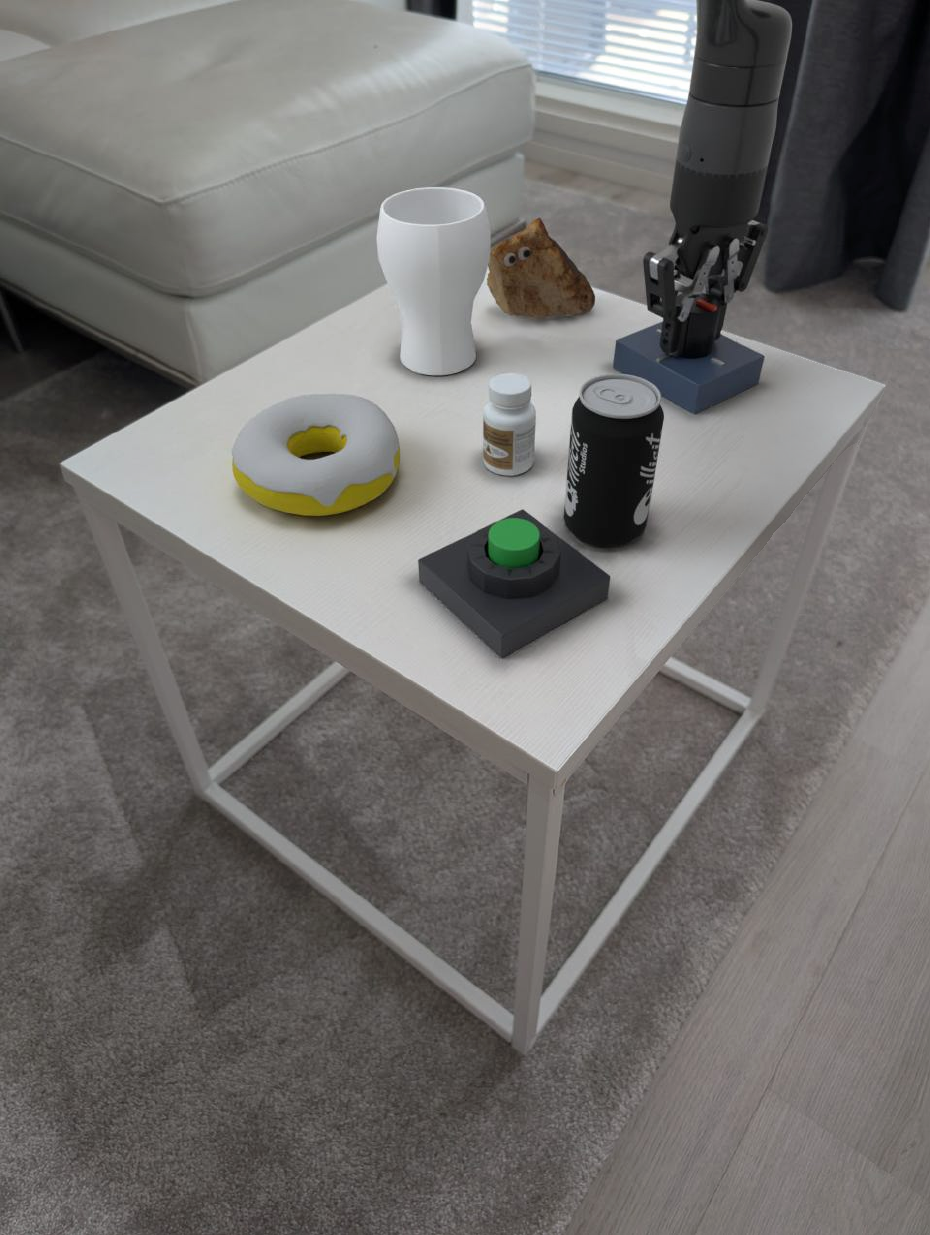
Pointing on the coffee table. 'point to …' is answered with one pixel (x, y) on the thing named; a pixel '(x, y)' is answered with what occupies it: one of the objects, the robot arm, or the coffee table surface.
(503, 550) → the button
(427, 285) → the cup
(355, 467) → the donut
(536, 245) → the decorative rock
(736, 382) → the control panel
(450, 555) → the button block
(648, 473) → the beverage can
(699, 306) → the program dial
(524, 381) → the pill bottle
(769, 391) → the coffee table surface
